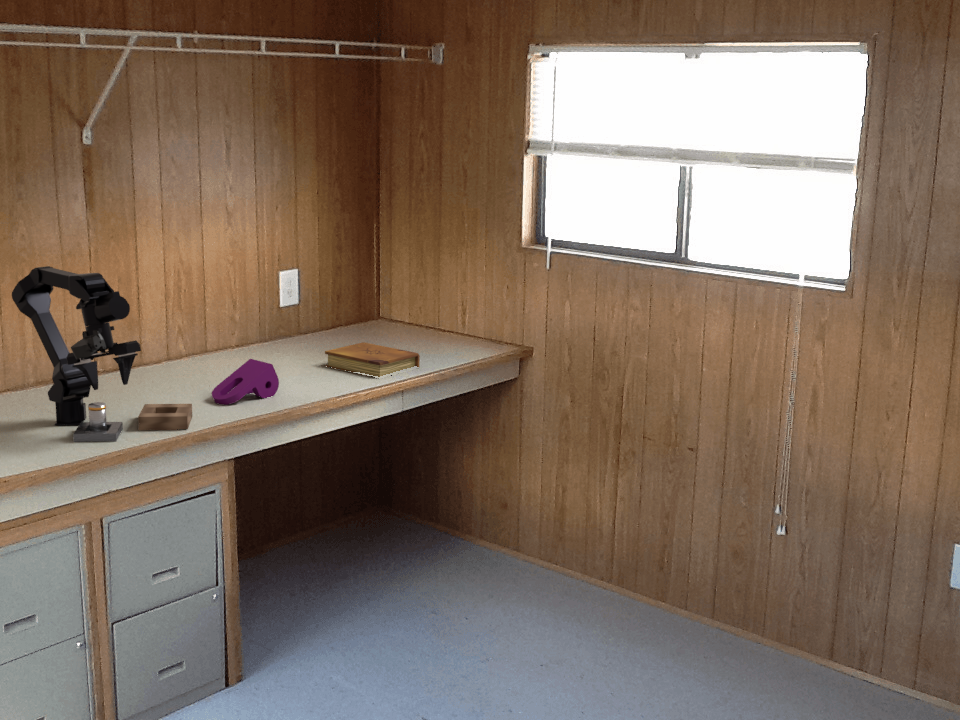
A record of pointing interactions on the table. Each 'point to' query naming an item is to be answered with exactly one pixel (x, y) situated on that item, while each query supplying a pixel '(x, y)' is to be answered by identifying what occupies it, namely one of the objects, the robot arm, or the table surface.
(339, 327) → the table surface
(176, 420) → the socket block
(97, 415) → the steel pin
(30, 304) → the robot arm
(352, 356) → the diary
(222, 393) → the mounting bracket
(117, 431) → the pin mount
